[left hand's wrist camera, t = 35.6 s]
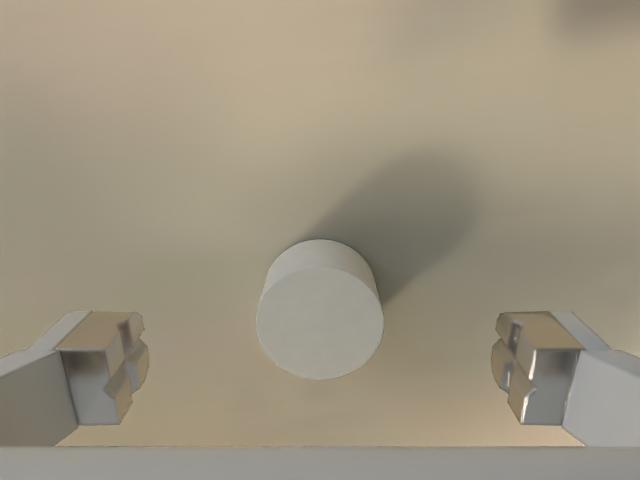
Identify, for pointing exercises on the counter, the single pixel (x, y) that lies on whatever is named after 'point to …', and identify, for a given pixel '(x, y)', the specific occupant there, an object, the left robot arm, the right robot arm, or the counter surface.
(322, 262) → the cap
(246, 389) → the counter surface
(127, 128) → the counter surface
